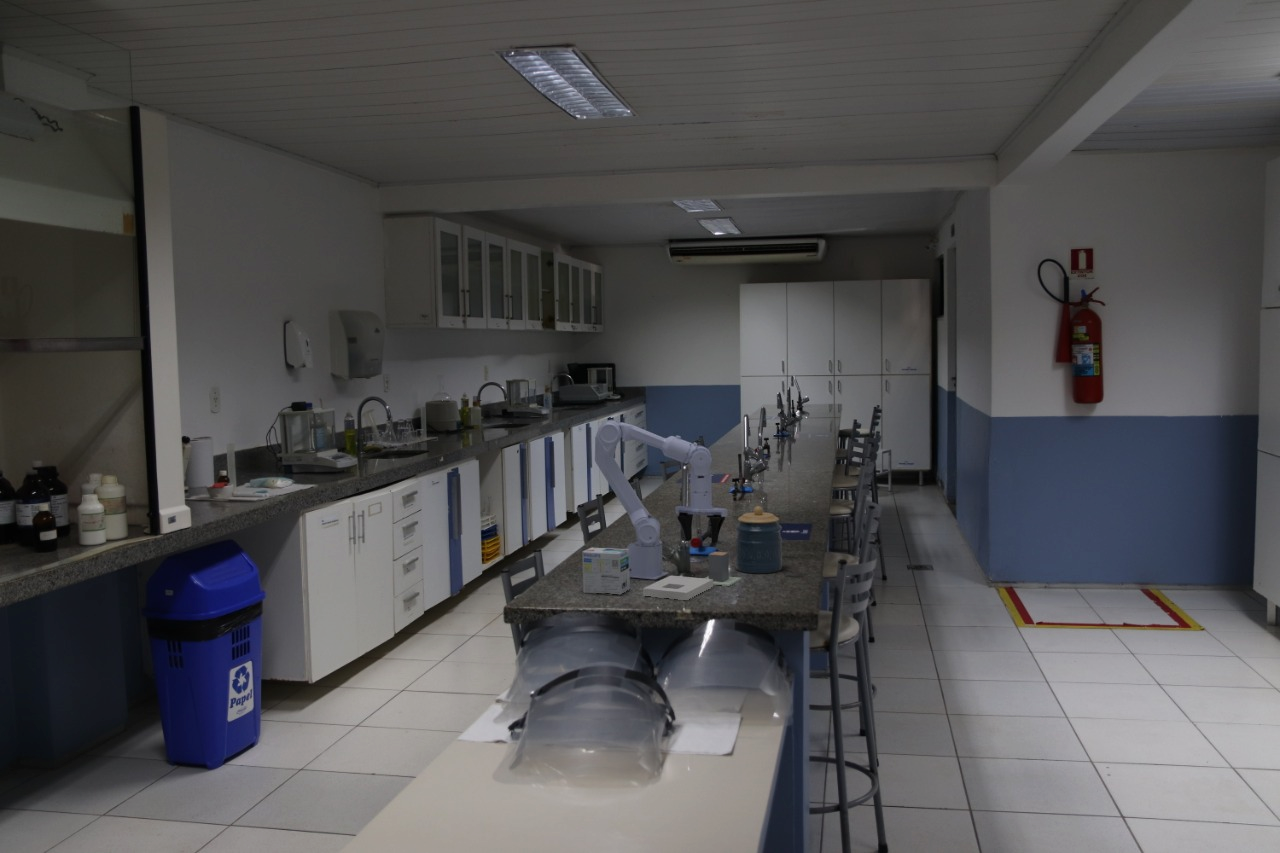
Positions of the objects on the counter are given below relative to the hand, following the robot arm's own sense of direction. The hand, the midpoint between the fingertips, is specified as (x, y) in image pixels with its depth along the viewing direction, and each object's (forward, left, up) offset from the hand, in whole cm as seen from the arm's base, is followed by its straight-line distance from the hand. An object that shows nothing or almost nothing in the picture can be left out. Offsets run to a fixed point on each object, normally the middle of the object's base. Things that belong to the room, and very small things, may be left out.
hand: (701, 541), depth 272 cm
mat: (+7, -5, -9) cm, 13 cm away
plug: (+7, -5, -9) cm, 12 cm away
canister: (+11, +14, -10) cm, 20 cm away
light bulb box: (-15, -26, -10) cm, 32 cm away
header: (+2, -19, -9) cm, 21 cm away
